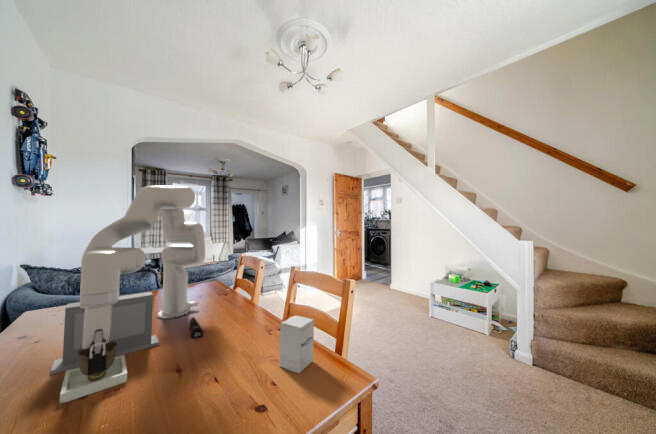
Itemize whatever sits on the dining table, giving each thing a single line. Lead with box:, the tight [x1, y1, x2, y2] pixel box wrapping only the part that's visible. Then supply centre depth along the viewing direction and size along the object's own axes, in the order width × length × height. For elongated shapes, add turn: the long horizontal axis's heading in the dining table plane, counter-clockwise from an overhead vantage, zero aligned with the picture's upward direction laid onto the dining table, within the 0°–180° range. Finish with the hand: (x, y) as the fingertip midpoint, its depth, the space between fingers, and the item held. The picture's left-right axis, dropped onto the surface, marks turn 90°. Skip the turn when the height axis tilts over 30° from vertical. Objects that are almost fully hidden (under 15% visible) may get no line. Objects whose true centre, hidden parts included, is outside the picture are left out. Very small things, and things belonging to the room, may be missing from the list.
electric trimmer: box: [189, 316, 204, 340], centre depth 92 cm, size 4×16×3 cm, turn 35°
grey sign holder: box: [50, 291, 160, 375], centre depth 75 cm, size 24×7×17 cm, turn 133°
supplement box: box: [279, 315, 315, 374], centre depth 70 cm, size 7×7×13 cm
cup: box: [78, 340, 118, 381], centre depth 62 cm, size 8×7×8 cm
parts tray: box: [59, 354, 128, 405], centre depth 62 cm, size 12×12×2 cm
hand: (97, 364), depth 62 cm, fingers open, 9 cm apart
